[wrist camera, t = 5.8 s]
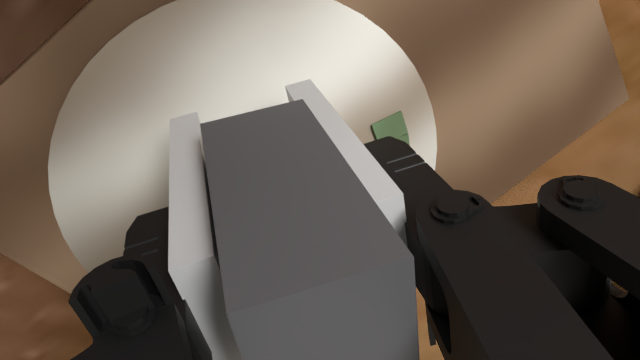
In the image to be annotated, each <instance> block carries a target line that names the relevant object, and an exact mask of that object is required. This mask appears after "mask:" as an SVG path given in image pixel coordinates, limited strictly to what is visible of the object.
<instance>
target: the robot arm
mask: <svg viewBox="0 0 640 360" xmlns="http://www.w3.org/2000/svg"><path fill="white" fill-rule="evenodd" d="M285 89H286V93H287V97H288V101H289V102H292V101H296V100H300V99H303V100H304V102H305V103H306V104H307V106H308V107H309V109H310V110H311V111H312V113H313V114H314V116H315V117H316V119H317V120H318V121H319V123H320V124H321V126H322V127H323V129H324V130H325V131H326V133H327V134H328V136H329V137H330V138H331V140H332V141H333V143H334V144H335V146H336V147H337V148H338V150H339V151H340V153H341V154H342V156H343V157H344V158H345V160H346V161H347V163H348V164H349V165H350V167H351V168H352V170H353V171H354V173H355V174H356V175H357V177H358V178H359V180H360V181H361V182H362V184H363V185H364V187H365V188H366V190H367V191H368V192H369V194H370V195H371V197H372V198H373V200H374V201H375V202H376V204H377V205H378V207H379V208H380V209H381V211H382V212H383V214H384V215H385V217H386V218H387V219H388V221H389V222H390V224H391V225H392V227H393V228H394V229H395V231H396V232H397V234H398V235H399V236H400V238H401V239H402V241H403V242H404V244H405V245H406V246H407V248H408V249H409V251H410V252H411V254H412V255H413V256H414V266H415V285H416V287H417V289H418V290H419V292H420V293H421V295H422V296H423V298H424V299H425V305H426V314H427V323H428V332H429V340H430V346H432V345H436V341H437V343H438V345H439V348H440V350H441V352H442V355H443V357H444V359H445V360H640V198H639V197H637V196H635V195H633V194H631V193H629V192H627V191H625V190H623V189H621V188H619V187H617V186H615V185H614V184H612V183H609V182H606V181H604V180H601V179H598V178H594V177H588V176H581V175H577V176H563V177H559V178H555V179H552V180H550V181H548V182H547V183H545V184H544V185H542V186H541V188H540V190H539V192H538V197H537V203H533V204H523V205H514V206H498V207H494V206H492V205H491V204H490V203H489V202H488V201H487V200H485V199H484V198H483V197H482V196H480V195H478V194H475V193H472V192H469V191H463V190H454V189H453V188H452V187H451V186H450V185H449V184H448V183H447V182H446V181H445V180H444V179H443V178H442V177H441V176H439V175H438V174H437V173H436V172H435V171H434V170H433V169H432V168H431V167H430V166H429V165H428V164H427V163H425V161H424V160H423V159H422V158H421V157H420V156H419V155H418V154H416V152H415V151H414V150H413V149H412V148H411V147H410V146H409V145H408V144H407V143H406V142H404V141H402V140H399V139H396V138H394V137H391V136H387V137H384V138H381V139H377V140H374V141H371V142H368V143H365V144H363V143H362V142H361V141H360V140H359V138H358V137H357V136H356V135H355V133H354V132H353V131H352V130H351V129H350V127H349V126H348V125H347V124H346V122H345V121H344V120H343V119H342V117H341V116H340V115H339V114H338V113H337V111H336V110H335V109H334V108H333V106H332V105H331V104H330V103H329V102H328V100H327V99H326V98H325V97H324V95H323V94H322V93H321V92H320V90H319V89H318V88H317V87H316V86H315V84H314V83H313V82H312V81H311V79H307V80H304V81H301V82H297V83H294V84H290V85H287V86H285ZM200 124H201V122H200V119H199V117H198V114H197V112H194V113H190V114H187V115H183V116H180V117H176V118H173V119H170V151H169V206H168V207H165V208H162V209H158V210H155V211H152V212H149V213H146V214H142V215H139V216H137V217H136V219H135V220H134V222H133V223H132V224H131V226H130V227H129V229H128V230H127V232H126V238H125V245H124V248H125V250H124V252H123V256H121V257H118V258H114V259H111V260H109V261H107V262H105V263H103V264H101V265H99V266H97V267H96V268H94V269H93V270H92V271H91V272H89V273H88V274H87V275H85V276H84V277H83V278H82V279H81V280H80V281H79V283H78V284H77V285H76V286H75V288H74V289H73V290H72V293H71V296H70V299H69V304H70V305H71V307H72V308H73V309H74V311H75V312H76V314H77V315H78V317H79V318H80V320H81V321H82V323H83V324H84V325H85V327H86V328H87V330H88V331H89V333H90V334H91V336H92V337H93V344H92V345H91V346H90V347H89V348H87V349H86V350H84V351H83V352H82V353H80V354H79V355H77V356H76V357H74V358H72V359H71V360H212V359H213V360H243V359H242V357H241V354H240V351H239V348H238V345H237V343H236V340H235V337H234V334H233V331H232V329H231V326H230V323H229V320H228V317H227V314H226V307H225V300H224V293H223V285H222V278H221V271H220V264H219V257H218V249H217V242H216V235H215V228H214V221H213V213H212V206H211V199H210V192H209V185H208V177H207V170H206V163H205V156H204V149H203V141H202V134H201V127H200ZM612 280H613V281H614V282H615V283H617V284H618V285H620V286H621V287H622V288H624V289H625V290H627V291H628V293H627V292H623V291H622V290H620V289H618V288H617V287H615V286H614V285H612ZM416 303H417V300H416ZM435 338H436V340H435Z"/></svg>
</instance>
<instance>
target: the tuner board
mask: <svg viewBox="0 0 640 360" xmlns="http://www.w3.org/2000/svg"><path fill="white" fill-rule="evenodd" d="M307 79H311V81H312V82H313V83H314V84H315V86H316V87H317V88H318V89H319V90H320V92H321V93H322V94H323V95H324V97H325V98H326V99H327V100H328V102H329V103H330V104H331V105H332V106H333V108H334V109H335V110H336V111H337V113H338V114H339V115H340V116H341V117H342V119H343V120H344V121H345V122H346V124H347V125H348V126H349V127H350V129H351V130H352V131H353V132H354V133H355V135H356V136H357V137H358V138H359V140H360V141H361V142H362V143H363V144H365V143H368V142H371V141H374V140H377V139H381V138H384V137H387V136H391V137H394V138H396V139H399V140H402V141H404V142H406V143H407V144H408V145H409V146H410V147H411V148H412V149H413V150H414V151H415V152H416V154H418V155H419V156H420V157H421V158H422V159H423V160H424V161H425V163H427V164H428V165H429V166H430V167H431V168H432V169H433V170H434V171H435V172H436V173H437V174H438V175H439V176H441V177H442V178H443V179H444V180H445V181H446V182H447V183H448V184H449V185H450V186H451V187H452V188H453V189H454V190H463V191H469V192H472V193H475V194H478V195H480V196H482V197H483V198H484V199H485V200H487V201H488V202H489V203H490V204H491V203H492V202H494V201H495V200H496V199H498V198H499V197H500V196H502V195H503V194H504V193H506V192H507V191H508V190H510V189H511V188H512V187H514V186H515V185H516V184H517V183H519V182H520V181H521V180H523V179H524V178H525V177H527V176H528V175H529V174H531V173H532V172H533V171H535V170H536V169H537V168H539V167H540V166H541V165H543V164H544V163H545V162H547V161H548V160H549V159H550V158H552V157H553V156H554V155H556V154H557V153H558V152H560V151H561V150H562V149H564V148H565V147H566V146H568V145H569V144H570V143H572V142H573V141H574V140H576V139H577V138H578V137H579V136H581V135H582V134H583V133H585V132H586V131H587V130H589V129H590V128H591V127H593V126H594V125H595V124H597V123H598V122H599V121H601V120H602V119H603V118H605V117H606V116H607V115H608V114H610V113H611V112H612V111H614V110H615V109H616V108H618V107H619V106H620V105H622V104H623V103H624V102H626V101H627V100H628V99H629V96H628V93H627V90H626V87H625V83H624V80H623V77H622V74H621V71H620V68H619V65H618V61H617V58H616V55H615V52H614V49H613V46H612V42H611V39H610V36H609V33H608V30H607V27H606V24H605V20H604V17H603V14H602V11H601V8H600V5H599V2H598V0H90V1H89V2H88V3H87V4H86V5H84V6H83V7H82V8H81V9H80V10H79V11H78V12H77V13H76V14H75V15H74V16H72V17H71V18H70V19H69V20H68V21H67V22H66V23H65V24H64V25H63V26H62V27H60V28H59V29H58V30H57V31H56V32H55V33H54V34H53V35H52V36H51V37H50V38H49V39H47V40H46V41H45V42H44V43H43V44H42V45H41V46H40V47H39V48H38V49H37V50H35V51H34V52H33V53H32V54H31V55H30V56H29V57H28V58H27V59H26V60H25V61H24V62H22V63H21V64H20V65H19V66H18V67H17V68H16V69H15V70H14V71H13V72H12V73H10V74H9V75H8V76H7V77H6V78H5V79H4V80H3V81H2V82H1V83H0V253H1V254H3V255H4V256H6V257H8V258H9V259H11V260H13V261H15V262H16V263H18V264H20V265H22V266H23V267H25V268H27V269H29V270H30V271H32V272H34V273H35V274H37V275H39V276H41V277H42V278H44V279H46V280H48V281H49V282H51V283H53V284H55V285H56V286H58V287H60V288H61V289H63V290H65V291H67V292H68V293H70V294H71V293H72V290H73V289H74V288H75V286H76V285H77V284H78V283H79V281H80V280H81V279H82V278H83V277H84V276H85V275H87V274H88V273H89V272H91V271H92V270H93V269H94V268H96V267H97V266H99V265H101V264H103V263H105V262H107V261H109V260H111V259H114V258H118V257H121V256H123V252H124V250H125V248H124V245H125V238H126V232H127V230H128V229H129V227H130V226H131V224H132V223H133V222H134V220H135V219H136V217H137V216H139V215H142V214H146V213H149V212H152V211H155V210H158V209H162V208H165V207H168V206H169V151H170V119H173V118H176V117H180V116H183V115H187V114H190V113H194V112H197V114H198V117H199V119H200V122H201V123H205V122H209V121H214V120H218V119H222V118H226V117H230V116H234V115H238V114H242V113H247V112H251V111H255V110H259V109H263V108H267V107H271V106H276V105H280V104H284V103H288V102H289V101H288V97H287V93H286V89H285V86H287V85H290V84H294V83H297V82H301V81H304V80H307ZM212 360H213V359H212Z"/></svg>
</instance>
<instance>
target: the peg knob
mask: <svg viewBox="0 0 640 360" xmlns="http://www.w3.org/2000/svg"><path fill="white" fill-rule="evenodd" d="M200 127H201V134H202V141H203V149H204V156H205V163H206V170H207V177H208V185H209V192H210V199H211V206H212V213H213V221H214V228H215V235H216V242H217V249H218V257H219V264H220V271H221V278H222V285H223V293H224V300H225V307H226V314H227V317H228V320H229V323H230V326H231V329H232V331H233V334H234V337H235V340H236V343H237V345H238V348H239V351H240V354H241V357H242V359H243V360H419V342H418V323H417V304H416V285H415V266H414V256H413V255H412V254H411V252H410V251H409V249H408V248H407V246H406V245H405V244H404V242H403V241H402V239H401V238H400V236H399V235H398V234H397V232H396V231H395V229H394V228H393V227H392V225H391V224H390V222H389V221H388V219H387V218H386V217H385V215H384V214H383V212H382V211H381V209H380V208H379V207H378V205H377V204H376V202H375V201H374V200H373V198H372V197H371V195H370V194H369V192H368V191H367V190H366V188H365V187H364V185H363V184H362V182H361V181H360V180H359V178H358V177H357V175H356V174H355V173H354V171H353V170H352V168H351V167H350V165H349V164H348V163H347V161H346V160H345V158H344V157H343V156H342V154H341V153H340V151H339V150H338V148H337V147H336V146H335V144H334V143H333V141H332V140H331V138H330V137H329V136H328V134H327V133H326V131H325V130H324V129H323V127H322V126H321V124H320V123H319V121H318V120H317V119H316V117H315V116H314V114H313V113H312V111H311V110H310V109H309V107H308V106H307V104H306V103H305V102H304V100H303V99H300V100H296V101H292V102H288V103H284V104H280V105H276V106H271V107H267V108H263V109H259V110H255V111H251V112H247V113H242V114H238V115H234V116H230V117H226V118H222V119H218V120H214V121H209V122H205V123H201V124H200Z"/></svg>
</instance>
